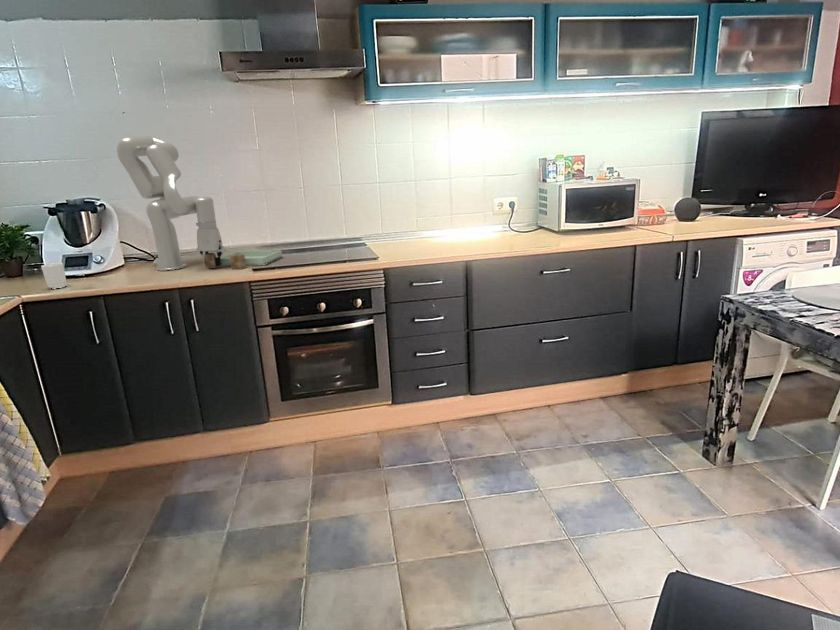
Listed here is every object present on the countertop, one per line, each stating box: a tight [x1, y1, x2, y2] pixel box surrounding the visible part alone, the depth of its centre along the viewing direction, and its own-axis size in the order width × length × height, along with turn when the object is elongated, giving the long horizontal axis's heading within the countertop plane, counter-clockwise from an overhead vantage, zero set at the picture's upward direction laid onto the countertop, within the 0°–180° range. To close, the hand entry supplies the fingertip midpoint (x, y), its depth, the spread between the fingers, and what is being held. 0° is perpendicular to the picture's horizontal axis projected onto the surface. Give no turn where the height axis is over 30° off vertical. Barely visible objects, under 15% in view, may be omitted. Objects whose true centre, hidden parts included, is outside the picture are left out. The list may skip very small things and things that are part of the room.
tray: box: [220, 250, 283, 267], centre depth 269 cm, size 24×18×4 cm
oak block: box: [230, 254, 247, 271], centre depth 256 cm, size 4×4×6 cm
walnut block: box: [204, 252, 222, 269], centre depth 259 cm, size 4×4×6 cm
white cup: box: [40, 262, 68, 288], centre depth 240 cm, size 8×8×10 cm
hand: (213, 265), depth 259 cm, fingers closed on walnut block, 4 cm apart
